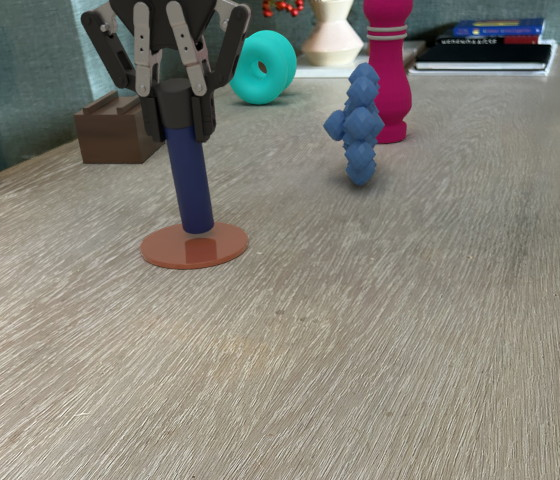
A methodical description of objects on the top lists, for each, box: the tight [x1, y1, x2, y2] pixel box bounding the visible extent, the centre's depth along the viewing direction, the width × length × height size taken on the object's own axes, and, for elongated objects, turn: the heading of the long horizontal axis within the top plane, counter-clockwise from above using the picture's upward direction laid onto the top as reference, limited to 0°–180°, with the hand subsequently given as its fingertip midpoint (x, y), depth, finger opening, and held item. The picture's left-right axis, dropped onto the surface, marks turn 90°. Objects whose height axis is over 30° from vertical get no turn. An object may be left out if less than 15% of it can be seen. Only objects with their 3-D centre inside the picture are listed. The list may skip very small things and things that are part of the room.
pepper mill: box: [362, 0, 414, 144], centre depth 85 cm, size 7×7×20 cm
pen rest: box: [72, 90, 166, 165], centre depth 88 cm, size 10×8×7 cm
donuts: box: [228, 29, 298, 106], centre depth 110 cm, size 10×10×10 cm
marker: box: [155, 77, 215, 234], centre depth 59 cm, size 13×3×3 cm
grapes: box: [322, 61, 385, 186], centre depth 73 cm, size 12×7×12 cm, turn 171°
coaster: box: [139, 221, 249, 270], centre depth 62 cm, size 10×10×1 cm
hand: (181, 139), depth 57 cm, fingers closed on marker, 3 cm apart
